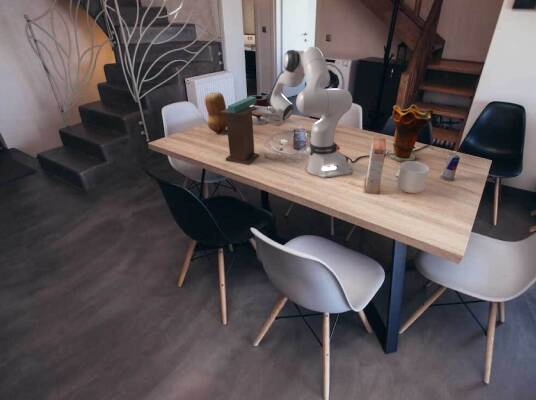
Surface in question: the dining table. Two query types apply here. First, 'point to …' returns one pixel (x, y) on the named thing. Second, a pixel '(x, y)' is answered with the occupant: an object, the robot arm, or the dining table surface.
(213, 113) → the butternut squash
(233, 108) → the batten
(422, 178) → the handleless ceramic cup
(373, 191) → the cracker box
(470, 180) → the dining table surface
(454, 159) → the energy drink
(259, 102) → the mate gourd
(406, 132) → the decorative vase
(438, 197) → the dining table surface
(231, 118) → the plinth
